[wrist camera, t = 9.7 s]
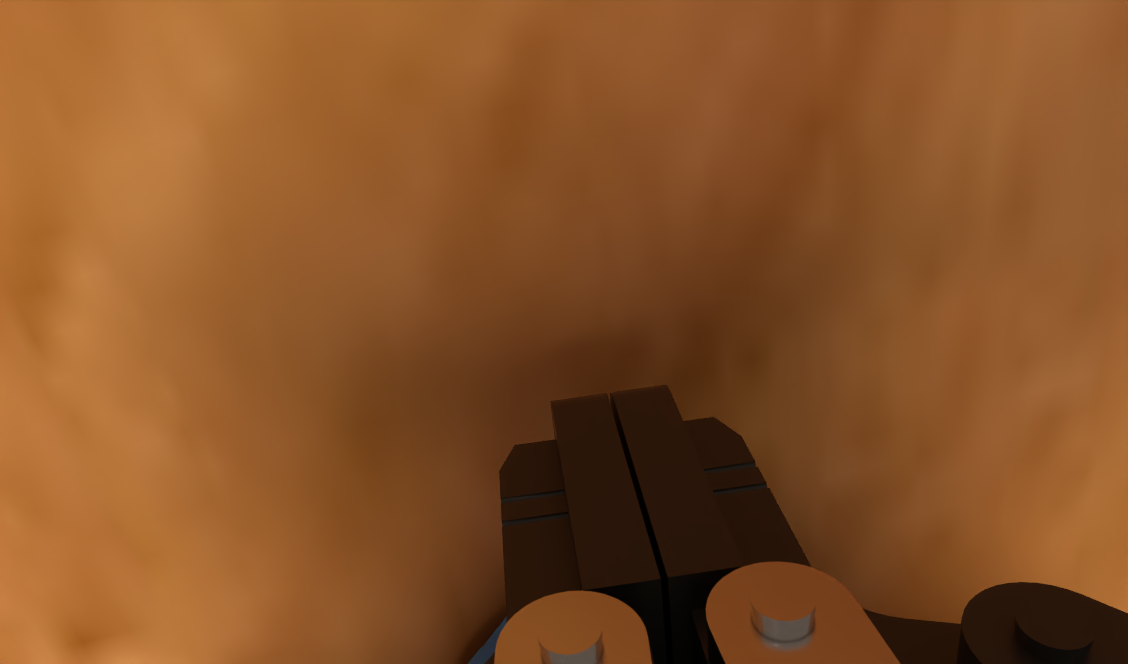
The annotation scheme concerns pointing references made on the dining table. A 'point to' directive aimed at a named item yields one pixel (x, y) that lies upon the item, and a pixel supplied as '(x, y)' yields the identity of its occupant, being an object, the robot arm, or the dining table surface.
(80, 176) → the dining table surface
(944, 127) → the dining table surface
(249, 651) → the dining table surface
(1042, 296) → the dining table surface
